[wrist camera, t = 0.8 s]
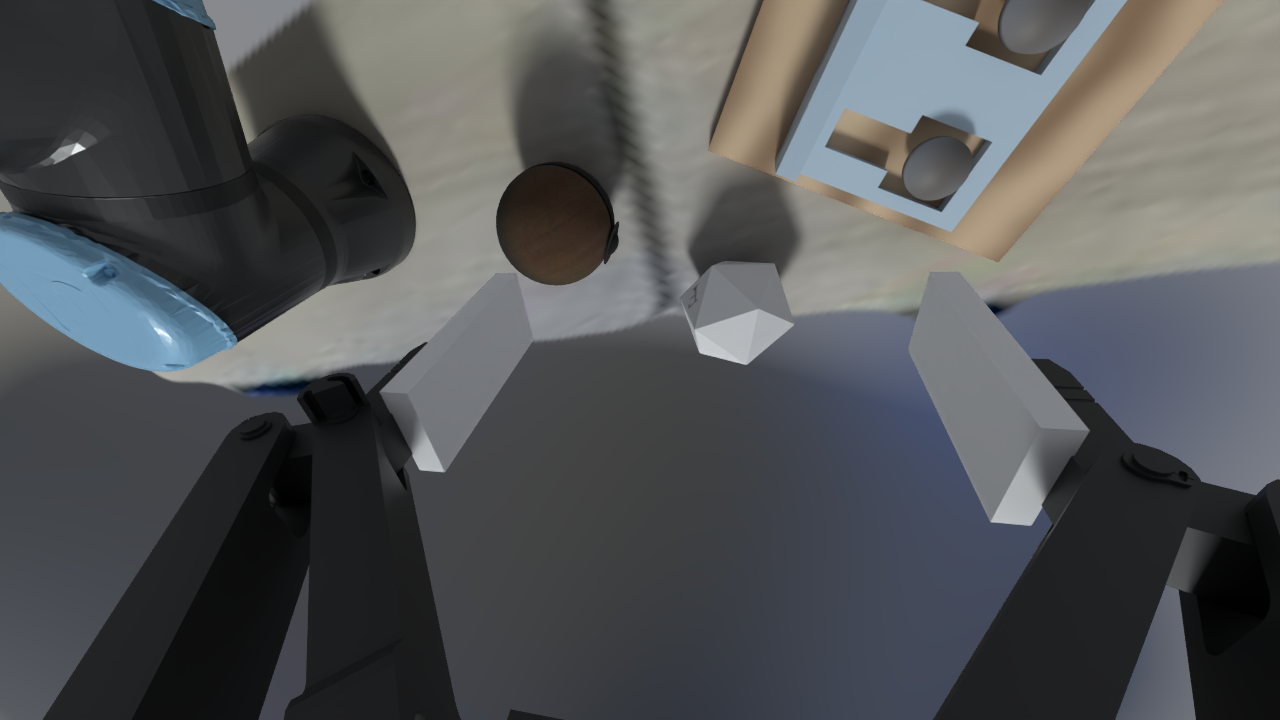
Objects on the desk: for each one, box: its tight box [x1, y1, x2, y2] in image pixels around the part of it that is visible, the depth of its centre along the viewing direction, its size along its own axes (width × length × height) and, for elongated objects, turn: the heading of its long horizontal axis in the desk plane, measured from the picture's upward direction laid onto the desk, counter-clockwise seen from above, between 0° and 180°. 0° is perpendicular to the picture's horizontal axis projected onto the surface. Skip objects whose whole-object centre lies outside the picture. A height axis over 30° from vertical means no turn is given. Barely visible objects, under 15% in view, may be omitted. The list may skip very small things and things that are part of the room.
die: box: [680, 261, 794, 365], centre depth 41 cm, size 8×9×10 cm
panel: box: [775, 0, 1127, 232], centre depth 29 cm, size 14×16×4 cm
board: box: [708, 0, 1224, 262], centre depth 30 cm, size 24×18×4 cm
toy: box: [496, 162, 619, 285], centre depth 38 cm, size 9×10×10 cm
